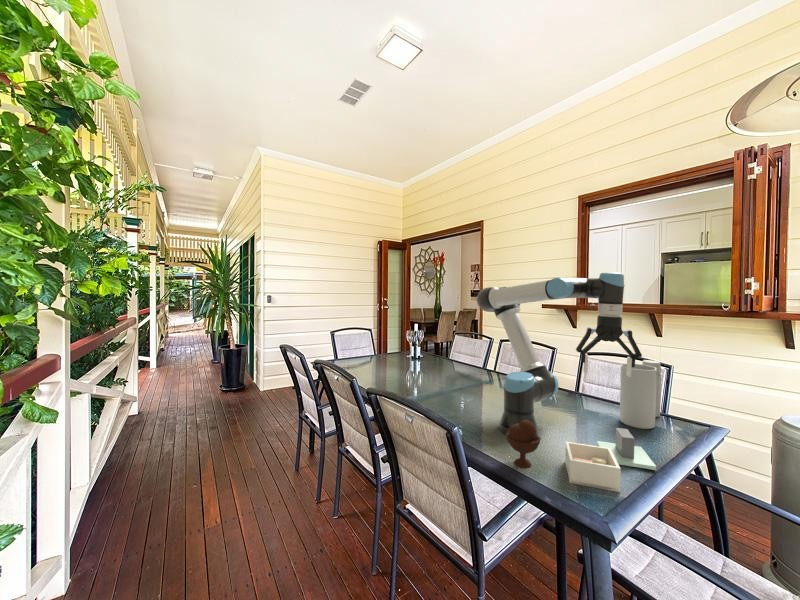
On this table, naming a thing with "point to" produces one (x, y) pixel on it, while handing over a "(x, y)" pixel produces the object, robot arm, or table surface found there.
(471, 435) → the table surface
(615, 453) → the lid
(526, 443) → the ice cream bowl
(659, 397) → the water bottle
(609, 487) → the crate
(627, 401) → the cylinder vase
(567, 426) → the table surface
